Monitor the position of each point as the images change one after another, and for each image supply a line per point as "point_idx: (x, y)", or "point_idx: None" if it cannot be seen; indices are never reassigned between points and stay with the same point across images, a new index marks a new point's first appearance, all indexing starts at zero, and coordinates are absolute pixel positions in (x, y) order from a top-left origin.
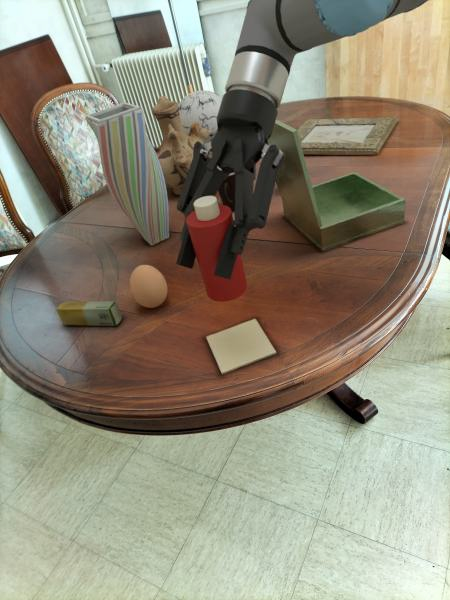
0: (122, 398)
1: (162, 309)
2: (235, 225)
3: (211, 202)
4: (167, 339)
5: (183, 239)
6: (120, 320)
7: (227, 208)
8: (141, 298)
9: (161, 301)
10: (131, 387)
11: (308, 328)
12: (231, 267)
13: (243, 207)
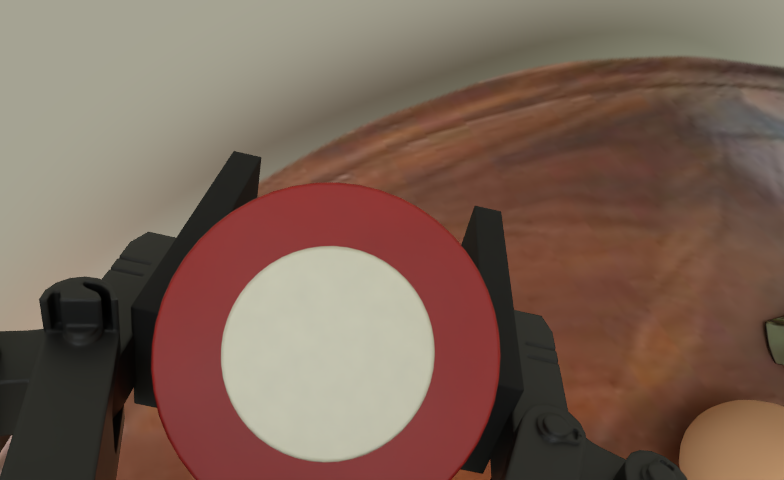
0: (558, 94)
1: (668, 438)
2: (100, 296)
3: (249, 325)
4: (566, 312)
5: (506, 289)
6: (770, 347)
7: (216, 470)
8: (742, 402)
9: (680, 445)
10: (557, 129)
11: (146, 467)
12: None
13: (18, 419)
